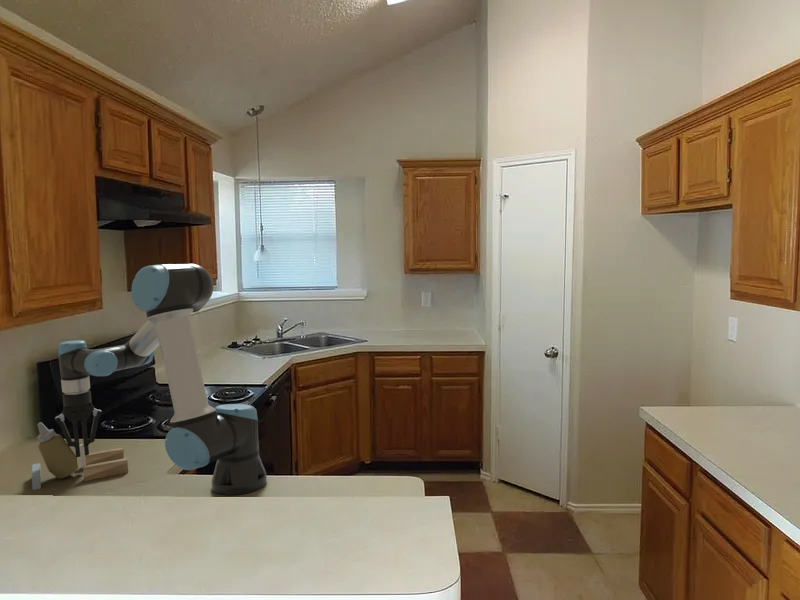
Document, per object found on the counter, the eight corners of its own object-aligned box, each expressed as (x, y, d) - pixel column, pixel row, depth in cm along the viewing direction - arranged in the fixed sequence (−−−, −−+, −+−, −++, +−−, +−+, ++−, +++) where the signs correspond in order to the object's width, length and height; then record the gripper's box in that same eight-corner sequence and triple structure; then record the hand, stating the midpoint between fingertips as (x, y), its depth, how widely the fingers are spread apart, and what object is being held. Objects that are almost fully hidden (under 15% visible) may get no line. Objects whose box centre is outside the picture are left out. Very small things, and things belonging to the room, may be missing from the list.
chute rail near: (128, 472, 179) (127, 459, 179) (84, 481, 173) (83, 468, 173) (127, 470, 181) (126, 457, 181) (83, 479, 175) (82, 466, 175)
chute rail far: (124, 461, 190) (123, 449, 189) (82, 468, 183) (81, 456, 183) (123, 459, 191) (122, 447, 191) (81, 467, 185) (80, 454, 185)
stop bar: (40, 488, 168) (39, 475, 168) (32, 490, 167) (31, 476, 167) (41, 475, 179) (40, 462, 178) (33, 477, 178) (32, 464, 177)
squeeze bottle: (86, 461, 181) (58, 412, 176) (75, 476, 174) (45, 425, 168) (61, 469, 181) (33, 421, 176) (49, 484, 174) (19, 434, 168)
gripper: (99, 385, 184) (105, 457, 186) (52, 392, 177) (59, 466, 180) (100, 390, 177) (107, 465, 180) (52, 397, 171) (59, 474, 173)
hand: (83, 465), depth 180 cm, fingers closed
